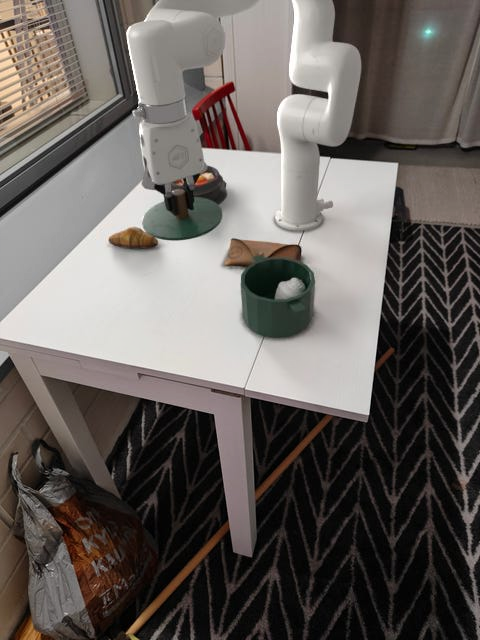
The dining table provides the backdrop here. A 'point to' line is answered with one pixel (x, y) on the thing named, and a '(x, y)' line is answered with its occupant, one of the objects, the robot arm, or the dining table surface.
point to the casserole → (207, 186)
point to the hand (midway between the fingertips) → (181, 209)
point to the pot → (260, 297)
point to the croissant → (133, 239)
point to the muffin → (289, 288)
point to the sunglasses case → (259, 251)
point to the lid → (182, 218)
